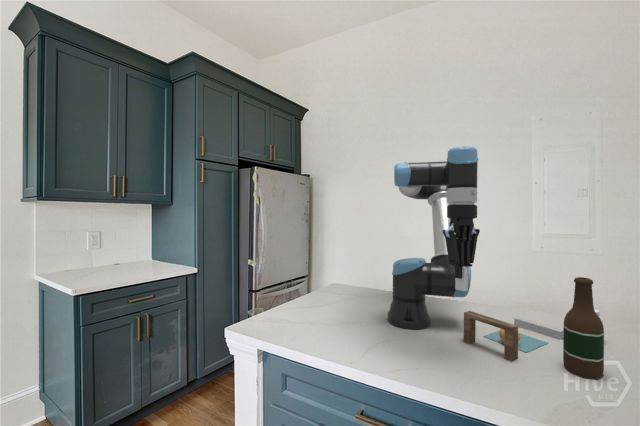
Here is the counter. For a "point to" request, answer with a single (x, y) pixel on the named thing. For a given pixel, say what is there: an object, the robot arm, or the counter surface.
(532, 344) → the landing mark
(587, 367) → the beer bottle
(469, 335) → the bridge
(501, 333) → the ball
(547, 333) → the wall
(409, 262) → the robot arm
